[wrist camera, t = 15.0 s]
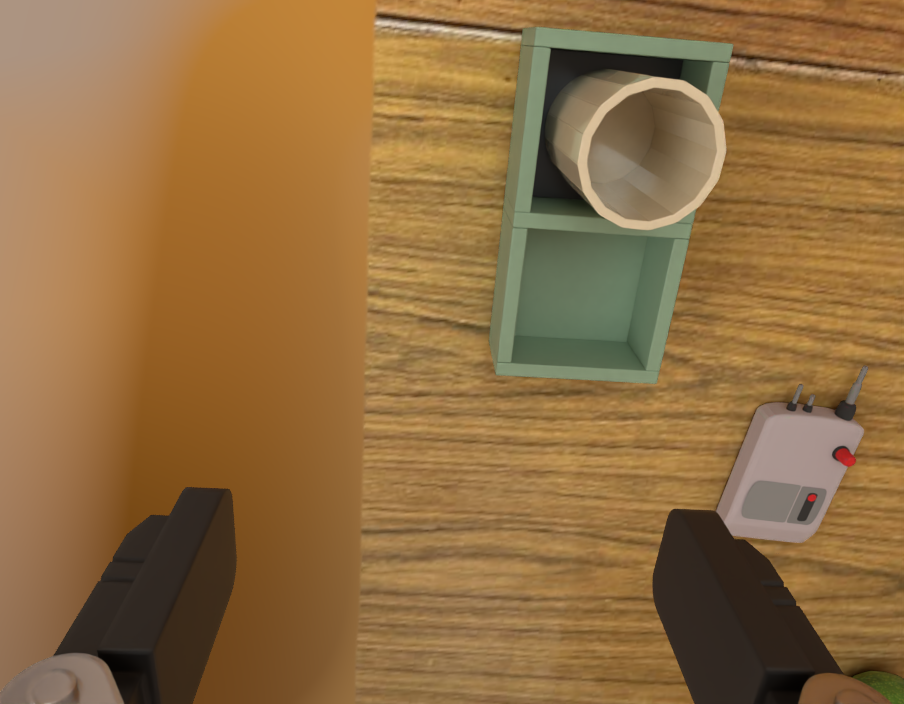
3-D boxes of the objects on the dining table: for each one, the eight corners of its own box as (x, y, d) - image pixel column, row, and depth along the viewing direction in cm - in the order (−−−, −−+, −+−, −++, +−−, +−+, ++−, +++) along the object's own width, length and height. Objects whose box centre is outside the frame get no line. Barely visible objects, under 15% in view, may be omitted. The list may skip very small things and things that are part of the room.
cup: (522, 153, 36) (550, 187, 28) (585, 45, 34) (634, 47, 26) (615, 207, 38) (667, 254, 29) (680, 106, 36) (756, 126, 27)
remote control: (700, 544, 49) (716, 574, 46) (779, 348, 43) (803, 369, 40) (787, 554, 50) (808, 584, 47) (877, 362, 43) (907, 384, 40)
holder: (522, 28, 34) (535, 26, 30) (697, 43, 35) (734, 43, 31) (488, 341, 42) (495, 375, 38) (634, 350, 42) (656, 384, 38)
